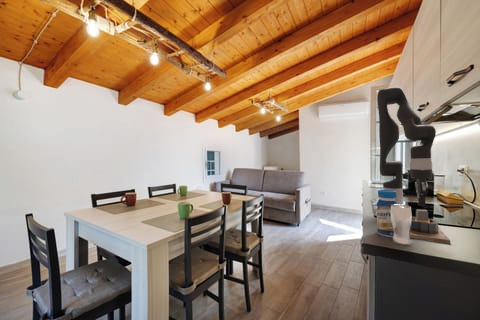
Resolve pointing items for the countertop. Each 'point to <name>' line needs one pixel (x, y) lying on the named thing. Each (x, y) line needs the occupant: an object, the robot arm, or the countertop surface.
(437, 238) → the wooden cutting board
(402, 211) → the beer glass
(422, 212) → the orange rounded block
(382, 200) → the blue and white bottle
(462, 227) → the countertop surface
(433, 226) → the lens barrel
